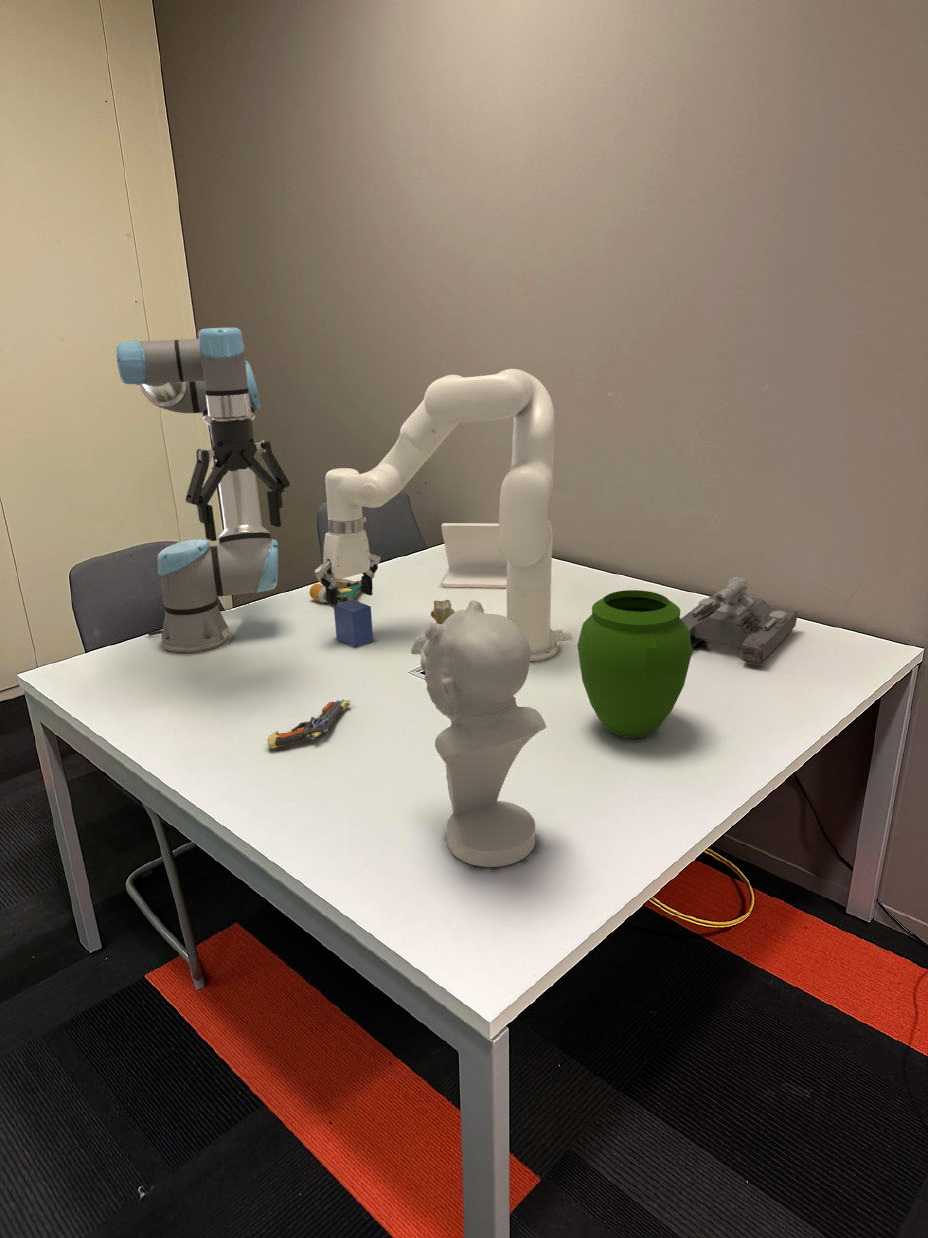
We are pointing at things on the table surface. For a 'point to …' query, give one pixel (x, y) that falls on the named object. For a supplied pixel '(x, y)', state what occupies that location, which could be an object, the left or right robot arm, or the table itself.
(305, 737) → the toy gun
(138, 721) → the table surface
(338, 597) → the spray gun
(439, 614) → the sculpture
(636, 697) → the vase
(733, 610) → the toy
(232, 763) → the table surface
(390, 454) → the right robot arm
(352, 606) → the block
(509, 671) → the bust sculpture
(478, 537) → the tablet stand
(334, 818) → the table surface
